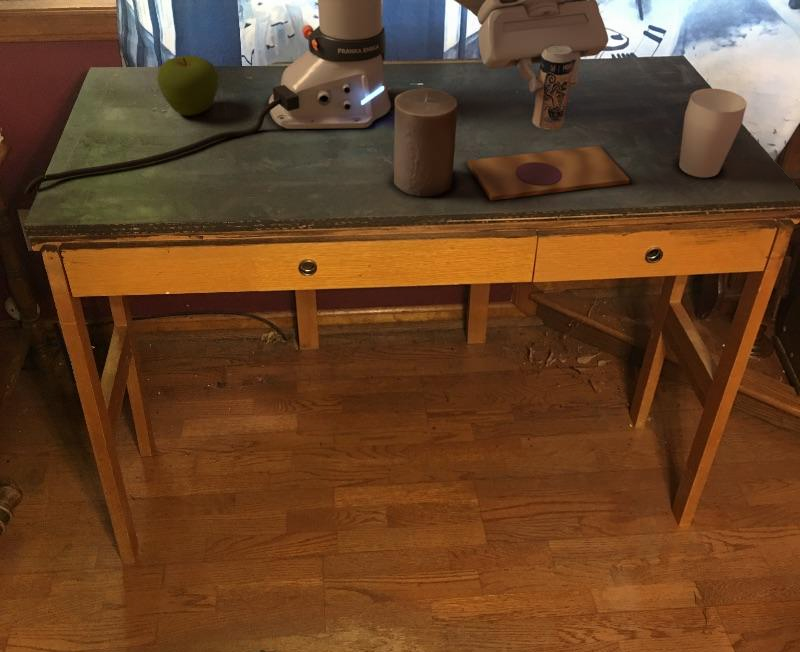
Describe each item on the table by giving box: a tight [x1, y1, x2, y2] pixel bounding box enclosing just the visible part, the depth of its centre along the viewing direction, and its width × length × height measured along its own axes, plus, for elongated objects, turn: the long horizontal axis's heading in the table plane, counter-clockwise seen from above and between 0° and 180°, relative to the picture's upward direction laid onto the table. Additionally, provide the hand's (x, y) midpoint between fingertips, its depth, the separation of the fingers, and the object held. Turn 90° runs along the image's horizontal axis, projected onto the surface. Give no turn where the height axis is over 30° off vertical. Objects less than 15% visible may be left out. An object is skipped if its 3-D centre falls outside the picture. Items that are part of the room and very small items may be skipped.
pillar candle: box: [393, 88, 458, 198], centre depth 135 cm, size 10×10×15 cm
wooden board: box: [467, 145, 630, 201], centre depth 142 cm, size 24×12×1 cm, turn 105°
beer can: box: [532, 44, 574, 132], centre depth 132 cm, size 5×5×12 cm
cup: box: [678, 87, 747, 178], centre depth 141 cm, size 9×9×12 cm
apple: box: [157, 55, 219, 117], centre depth 153 cm, size 11×10×10 cm
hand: (554, 87), depth 131 cm, fingers closed on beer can, 5 cm apart
